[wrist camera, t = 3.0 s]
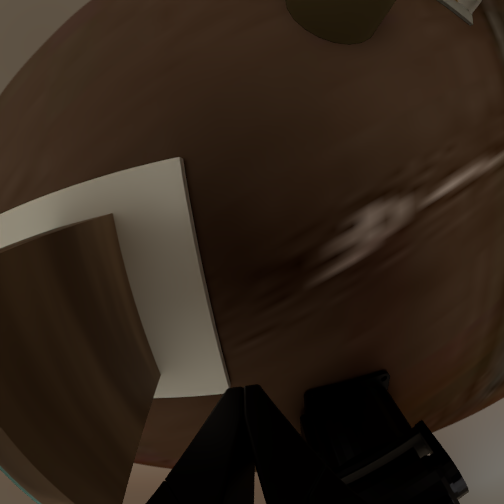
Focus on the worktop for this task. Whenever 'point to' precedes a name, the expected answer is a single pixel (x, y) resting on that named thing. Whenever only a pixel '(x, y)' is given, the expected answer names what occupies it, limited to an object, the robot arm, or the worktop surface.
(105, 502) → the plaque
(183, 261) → the board
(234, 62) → the worktop surface
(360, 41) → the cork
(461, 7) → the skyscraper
